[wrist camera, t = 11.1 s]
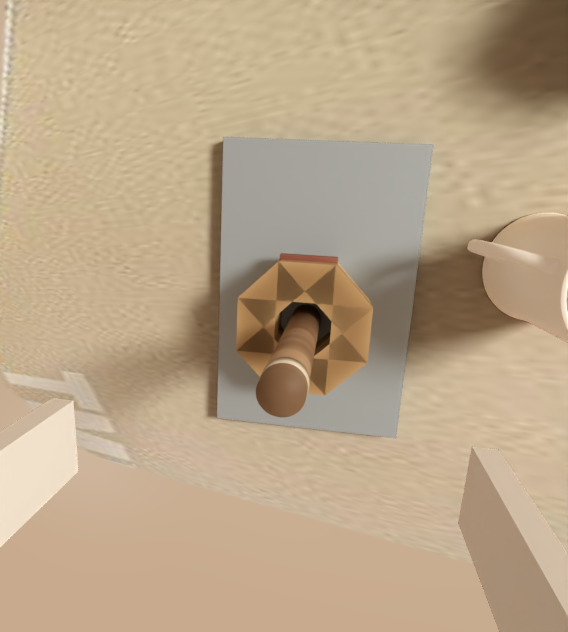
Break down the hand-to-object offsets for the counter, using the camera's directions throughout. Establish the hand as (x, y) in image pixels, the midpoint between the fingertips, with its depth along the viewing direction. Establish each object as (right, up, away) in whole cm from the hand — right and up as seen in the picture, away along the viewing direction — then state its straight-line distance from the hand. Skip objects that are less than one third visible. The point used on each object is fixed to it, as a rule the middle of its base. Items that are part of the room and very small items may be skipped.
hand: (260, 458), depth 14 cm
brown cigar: (+3, +4, +22) cm, 22 cm away
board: (+3, +7, +22) cm, 23 cm away
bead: (+3, +4, +22) cm, 22 cm away
